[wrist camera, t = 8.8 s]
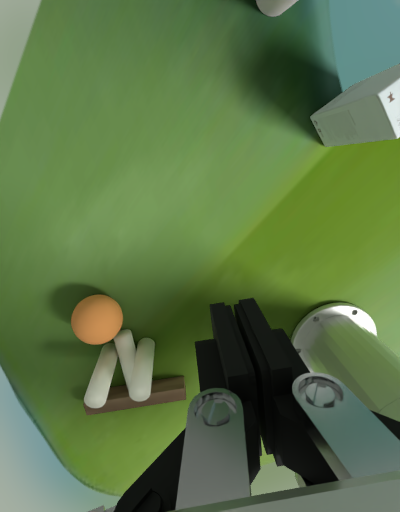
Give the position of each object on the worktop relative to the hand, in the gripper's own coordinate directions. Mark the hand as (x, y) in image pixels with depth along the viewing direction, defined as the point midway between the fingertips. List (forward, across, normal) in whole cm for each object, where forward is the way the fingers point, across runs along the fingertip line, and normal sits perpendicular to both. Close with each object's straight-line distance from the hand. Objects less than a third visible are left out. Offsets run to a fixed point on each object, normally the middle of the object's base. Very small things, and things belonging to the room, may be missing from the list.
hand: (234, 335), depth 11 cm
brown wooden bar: (+27, +12, +25) cm, 38 cm away
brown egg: (+24, +13, +11) cm, 30 cm away
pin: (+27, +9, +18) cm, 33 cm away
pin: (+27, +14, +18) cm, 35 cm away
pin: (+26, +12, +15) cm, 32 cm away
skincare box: (+27, -18, -9) cm, 34 cm away
